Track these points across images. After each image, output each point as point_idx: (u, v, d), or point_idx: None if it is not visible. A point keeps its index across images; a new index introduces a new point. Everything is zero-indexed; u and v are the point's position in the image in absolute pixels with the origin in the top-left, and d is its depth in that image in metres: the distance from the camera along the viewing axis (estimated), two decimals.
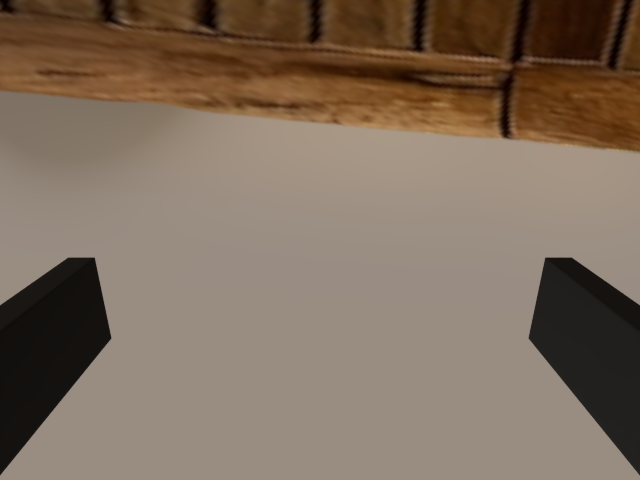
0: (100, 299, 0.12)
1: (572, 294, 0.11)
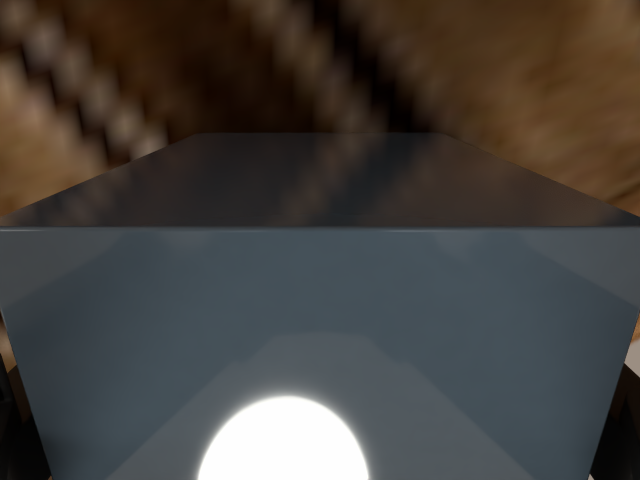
0: None
1: None
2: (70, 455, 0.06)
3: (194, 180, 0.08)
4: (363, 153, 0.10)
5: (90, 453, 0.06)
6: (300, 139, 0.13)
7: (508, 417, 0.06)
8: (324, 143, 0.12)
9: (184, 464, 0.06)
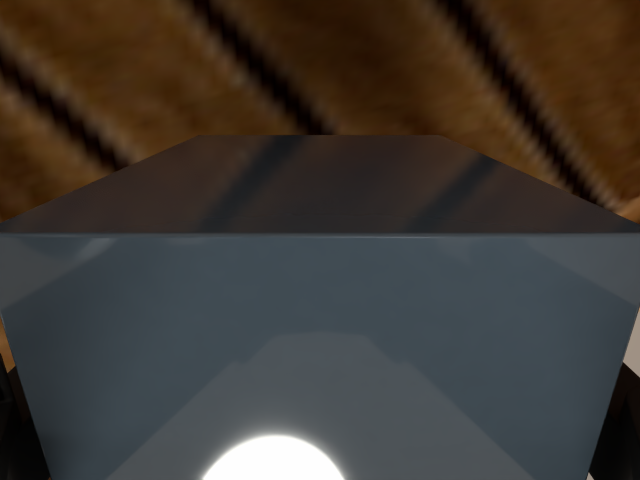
0: None
1: None
2: (69, 460, 0.06)
3: (193, 184, 0.08)
4: (362, 156, 0.10)
5: (90, 457, 0.06)
6: (299, 142, 0.13)
7: (506, 422, 0.06)
8: (323, 146, 0.12)
9: (184, 468, 0.07)
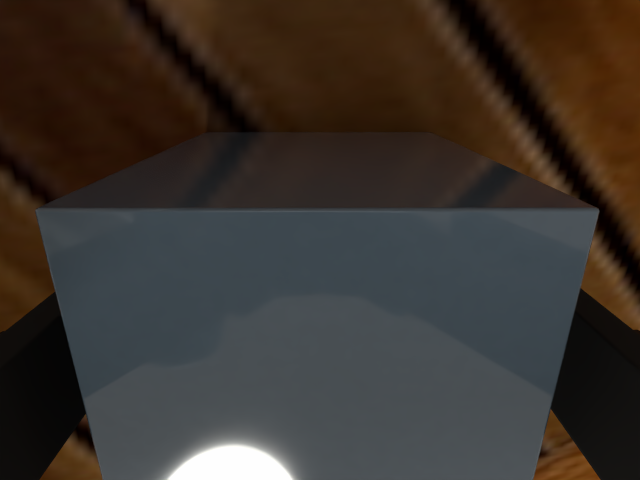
0: None
1: None
2: (105, 405, 0.08)
3: (208, 172, 0.09)
4: (357, 150, 0.12)
5: (123, 404, 0.08)
6: (300, 138, 0.14)
7: (476, 371, 0.07)
8: (322, 141, 0.13)
9: (202, 413, 0.08)
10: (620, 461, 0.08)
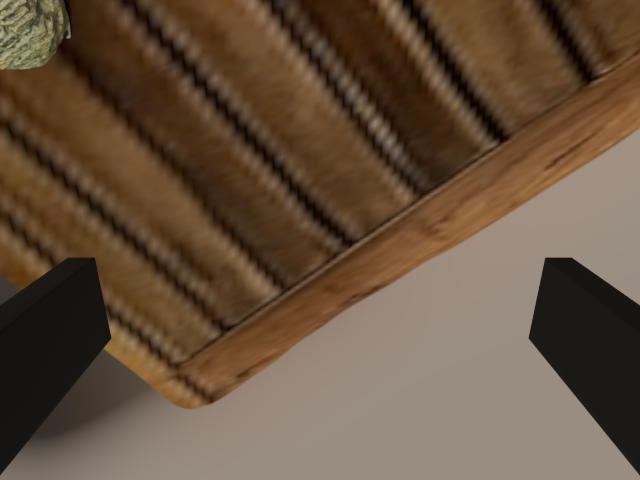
0: (100, 299, 0.12)
1: (571, 294, 0.11)
2: None
3: None
4: None
5: None
6: None
7: None
8: None
9: None
10: None
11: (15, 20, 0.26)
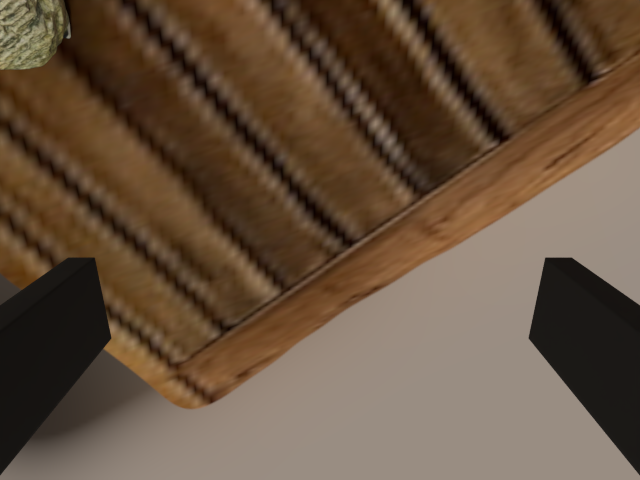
0: (100, 299, 0.12)
1: (571, 294, 0.11)
2: None
3: None
4: None
5: None
6: None
7: None
8: None
9: None
10: None
11: (15, 20, 0.26)
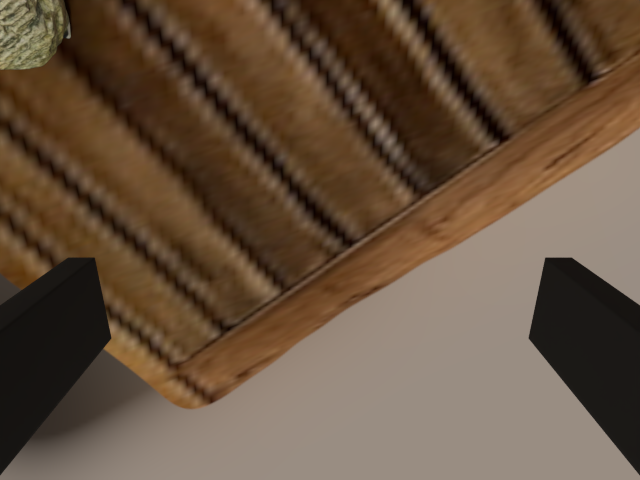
0: (100, 299, 0.12)
1: (571, 294, 0.11)
2: None
3: None
4: None
5: None
6: None
7: None
8: None
9: None
10: None
11: (15, 20, 0.26)
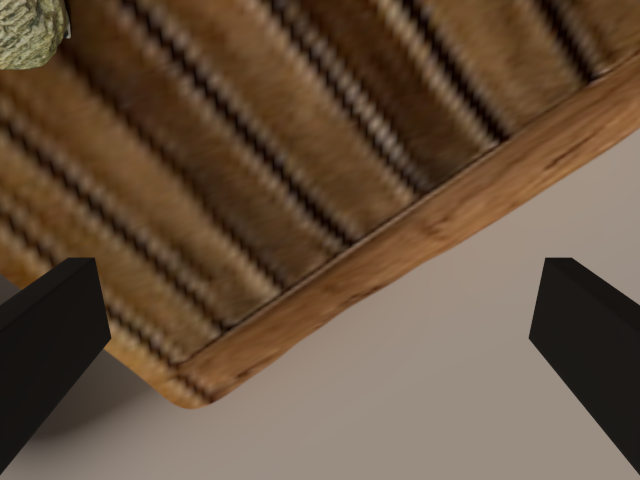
0: (100, 299, 0.12)
1: (571, 294, 0.11)
2: None
3: None
4: None
5: None
6: None
7: None
8: None
9: None
10: None
11: (15, 20, 0.26)
